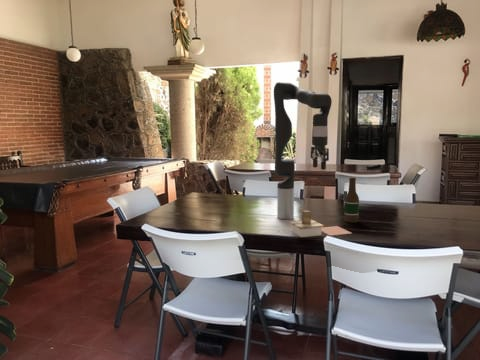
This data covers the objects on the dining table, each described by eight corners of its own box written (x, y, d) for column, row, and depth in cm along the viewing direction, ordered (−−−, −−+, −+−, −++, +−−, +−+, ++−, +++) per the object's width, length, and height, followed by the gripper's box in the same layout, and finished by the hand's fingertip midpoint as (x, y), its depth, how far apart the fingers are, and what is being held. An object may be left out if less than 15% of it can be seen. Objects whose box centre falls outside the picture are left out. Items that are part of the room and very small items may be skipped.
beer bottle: (356, 219, 212) (357, 176, 209) (360, 223, 204) (362, 178, 201) (342, 219, 212) (343, 176, 208) (346, 223, 204) (347, 178, 201)
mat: (315, 228, 194) (316, 228, 194) (336, 226, 198) (336, 226, 198) (330, 236, 181) (330, 235, 181) (352, 233, 184) (352, 233, 184)
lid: (289, 223, 189) (289, 209, 188) (311, 221, 192) (311, 207, 191) (300, 229, 177) (300, 214, 176) (323, 226, 181) (323, 212, 180)
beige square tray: (291, 232, 189) (291, 223, 188) (310, 230, 192) (311, 221, 191) (300, 238, 179) (301, 228, 178) (321, 236, 182) (321, 226, 181)
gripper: (306, 135, 193) (305, 167, 196) (319, 136, 180) (319, 170, 182) (319, 134, 195) (319, 166, 198) (334, 135, 182) (333, 169, 184)
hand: (319, 168), depth 190 cm, fingers open, 8 cm apart
